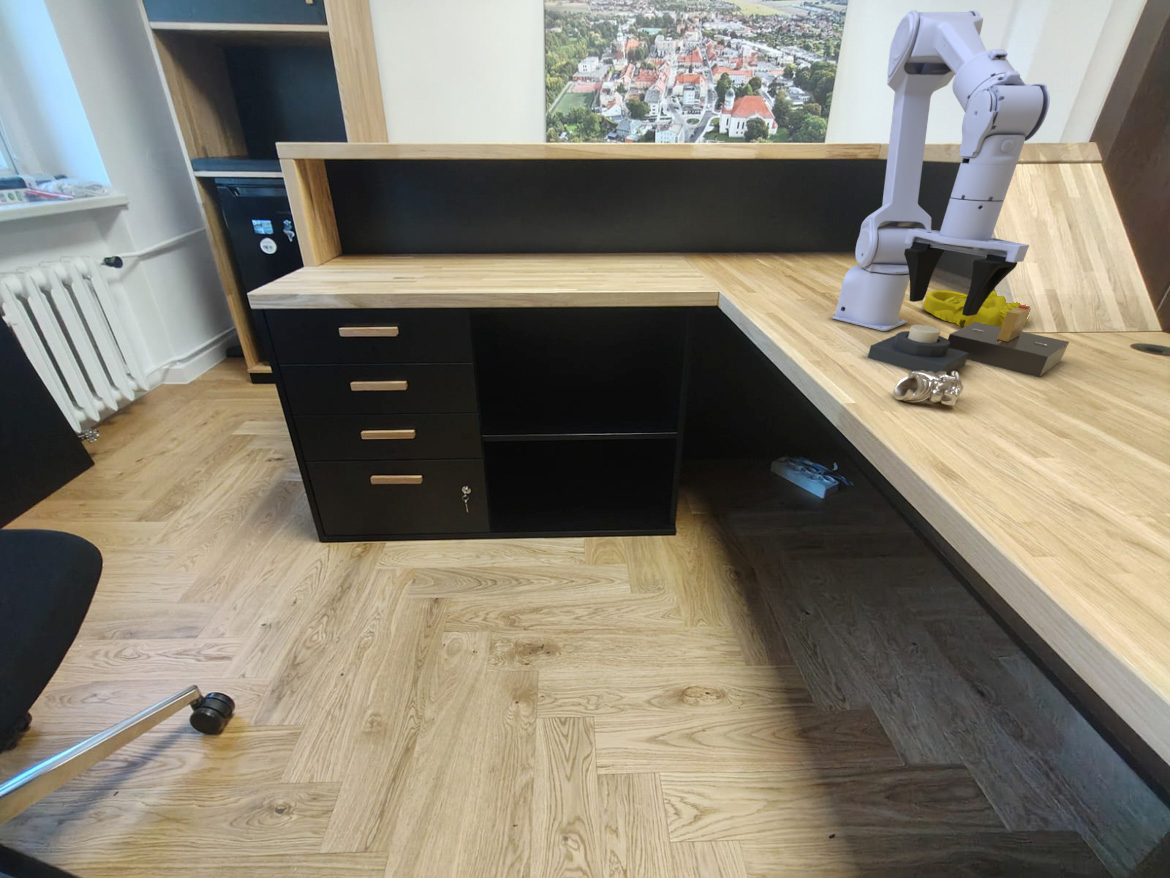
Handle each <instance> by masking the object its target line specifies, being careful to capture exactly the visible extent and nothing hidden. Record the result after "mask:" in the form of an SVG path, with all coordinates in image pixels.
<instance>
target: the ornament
mask: <svg viewBox="0 0 1170 878" xmlns="http://www.w3.org/2000/svg"><path fill="white" fill-rule="evenodd" d="M963 389H964V384H963V383H962V379H961V376H960V374H959V372H958V370H956V371H952V372H951V373H950V375H946V372H943V371H939V372H937V373H934V372H932V371H928V372H926V371H924V370H921V371H912V370H911V371H910V372H908V375H906V376H905V377H904V378H902V379H900V380H899V381H898V382H897V384H896V385H895V386H894V388H893V392H892V393H893V397H894V398H895V399H896V400H897V401H904V402H905V403H909V404H910V403H911V404H916V403H917V404H918V403H922V402H924V401H926V400H928V399H929V402H932V403H934V404H935V403H941V404H942V405H947V406H955V405H956V403H957V400H958V399H959V398H960V396H961V394H962V393H963Z"/></svg>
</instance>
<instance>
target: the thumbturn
mask: <svg viewBox="0 0 1170 878" xmlns="http://www.w3.org/2000/svg"><path fill="white" fill-rule="evenodd" d="M1026 305H1027V304H1025V305H1020V306H1019V307H1017V308H1015V309H1012V310H1010V311H1008V312H1007V314H1006V317H1005V320H1004V322H1003V325H1002V327H1001V330H1000V333H999V335H998V338H997V339H998V340H1002V341H1007V342H1009V341H1010V340H1012V339H1014V338H1016V337H1018V336H1020V335H1021V332H1023V330H1024V328H1025V327H1024V325H1025V326H1026V324H1025V322H1026V320H1027V317H1028V315H1029V312H1030V313H1031V310H1032V307H1031V306H1030V305H1028V306H1026ZM1028 318H1029V317H1028Z"/></svg>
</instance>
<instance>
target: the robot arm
mask: <svg viewBox="0 0 1170 878" xmlns="http://www.w3.org/2000/svg"><path fill="white" fill-rule="evenodd" d="M983 22H984V18H983V17H982V16H981V14H980V12H979V11H977V10H968V11H917V10H910V11H908V12H907V13H906V14H905V15H904V16H903V17H902V19H900V21H899V23H898V25H897V27H896V30H895V31H894V35H893V38H892V40H891V43H890V47H889V57H888V66H887V79H886V84H887V86H888V87H889V88H890V89H891V90H893V91H894V97H893V107H892V115H891V124H890V133H889V141H888V142H889V143H888V151H887V158H886V159H887V160H886V168H885V177H884V187H883V196H882V202H881V203H882V204H881V206H880V207H879V208H878V209H877V210H875V211H874V212H872V213H870V214H869V215H867V217H865V219H864V220H863V221H862V222H861V225H860V230H859V231H860V232H859V235H858V238H857V241H856V246H855V253H854V254H855V255H854V256H855V260H856V262H857V265H852V266H851V267H850V268H849V269H848V271H846V274H845V276H844V278H843V280H842V283H841V288H840V292H839V296H838V300H837V305H836V308H835V312H834V315H832V317H831V319H832V320H836V321H839V322H844V323H849V324H853V325H857V326H860V327H864V328H869V329H874V330H876V331H881V332H888V331H891V330H893V329H895V328H898V327H900V326H902V325H905V324H907V322H908V321H907V320H906V319H901V318H899V317H900V313H901V309H902V306H903V302H904V300H905V296H906V292H907V289H908V286H909V302H911V303H912V302H913V303H916V302H924V300H925V298H926V296H927V293H928V288H929V286H930V283H931V279H932V276H933V274H934V271H935V269H936V267H937V265H938V263H939V261H940V259H941V257H942V256H943V254H944V252H945V251H951V252H956V253H963V254H967V255H968V254H969V255H974V256H980V257H985V258H979V259H973V261H972V273H971V280H970V286H969V290H968V293H967V295H968V296H967V299H966V301H965V304H964V307H963V313H962V315H965V316H971V315H976V314H977V313H978V311H979V309H980V308H981V306H982V305H983V303H984V301H985V300H986V299H987V297H988V296H989V295H990V293H991V292H992V291H994V290H995V289H996V287H997V286H998V285H999V284H1000V283H1001V282H1002V281H1003V280H1004V278H1006V277H1007V276H1008V275H1009V274H1010V273H1011V272H1012V271H1014V269H1015V268H1016V267H1017V265H1018V263H1019V262H1021V263H1022V262H1024V261H1025V258H1026V255H1027V254H1028V253H1027V252H1028V250H1029V248H1030V244H1027V243H1020V242H1014V241H1010V240H1006V239H1001V238H997V237H993V234H994V231H995V228H996V225H997V222H998V219H999V217H1000V214H1001V211H1002V208H1003V205H1004V202H1005V200H1006V196H1007V194H1008V191H1009V188H1010V185H1011V182H1012V178H1013V176H1014V173H1015V171H1016V168H1017V165H1018V161H1019V159H1020V155H1021V153H1022V151H1023V147H1024V145H1025V142H1026V141H1029V140H1030V139H1032V137H1034V135H1036V134H1037V132H1038V131H1039V130H1040V129H1041V127H1042V125H1043V124H1044V122H1045V120H1046V117H1047V114H1048V112H1049V107H1050V102H1051V101H1050V100H1051V99H1050V92H1049V90H1048V86H1047V84H1045V83H1033V84H1030V83H1027V84H1026V83H1025V81H1024V80H1023V79H1022V78H1021V74H1020V72H1019V71H1018V70H1016V69H1015V68H1014V66H1013V65H1012V64H1011V63H1010V61H1009V60H1008V59H1007V57H1008V52H1007V51H1006V49H1005V48H993V49H992V48H991V49H988V50H987V49H986V46H985V45H984V43H983V39H982V38H981V33H982V28H983ZM952 79H953V80H952ZM951 81H952V87H951V88H952V93H953V94H954V96H955V98H956V99H957V101H958V103H959V104H960V107H961V108H962V110H963V111H964V116H963V117H962V118H963V119H962V125H961V137H962V139H961V144H960V147H959V150H958V152H959V154H958V155H959V157H961V161H960V164H959V168H958V171H957V174H956V177H955V181H954V184H953V187H952V189H951V190H952V191H951V193H950V194H951V195H950V197H949V200H948V204H947V207H946V211H945V214H944V218H943V221H942V223H941V227H940V230H934V229H932V217H931V216H930V215H929V213H928V212H926V211H925V210H924V209H923V208H922V207H921V206H920V205H919V195H920V187H921V179H922V172H923V171H922V170H923V165H924V163H923V162H924V157H925V156H924V153H925V146H926V139H927V131H928V123H929V114H930V105H931V98H932V96H933V94H934V92H937V91H938V90H940V89H942V88H944V87H946V86H948V85H949V84H950V82H951Z"/></svg>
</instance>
